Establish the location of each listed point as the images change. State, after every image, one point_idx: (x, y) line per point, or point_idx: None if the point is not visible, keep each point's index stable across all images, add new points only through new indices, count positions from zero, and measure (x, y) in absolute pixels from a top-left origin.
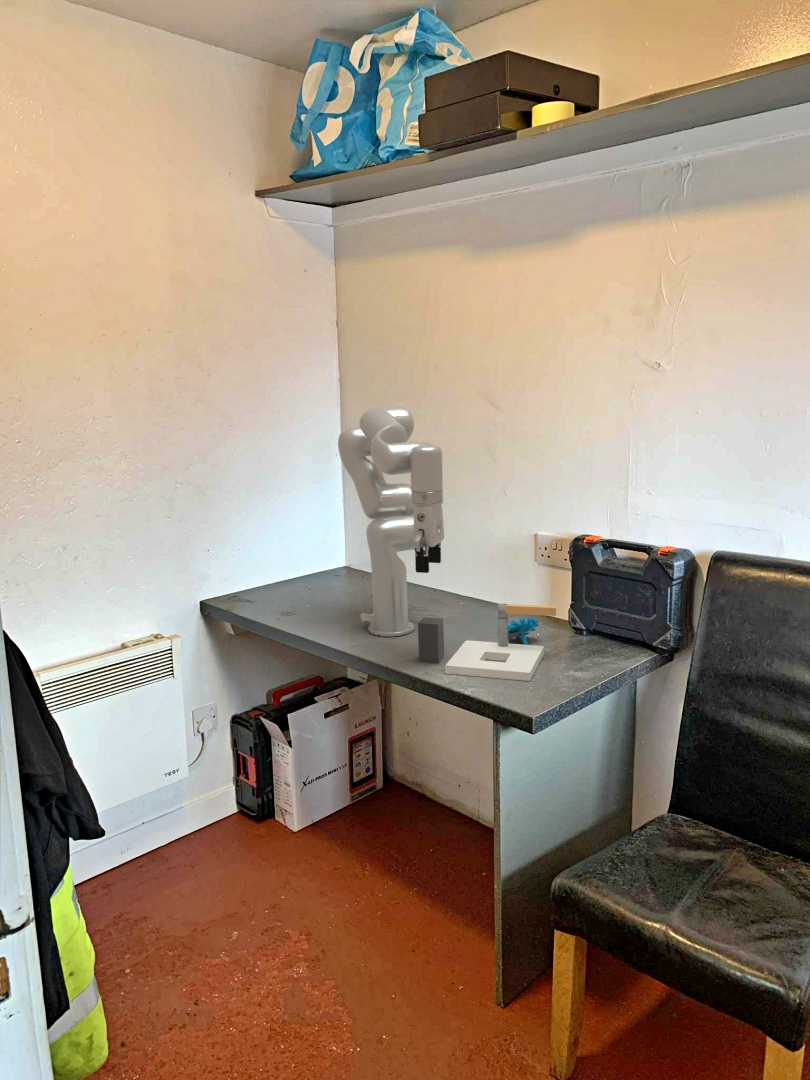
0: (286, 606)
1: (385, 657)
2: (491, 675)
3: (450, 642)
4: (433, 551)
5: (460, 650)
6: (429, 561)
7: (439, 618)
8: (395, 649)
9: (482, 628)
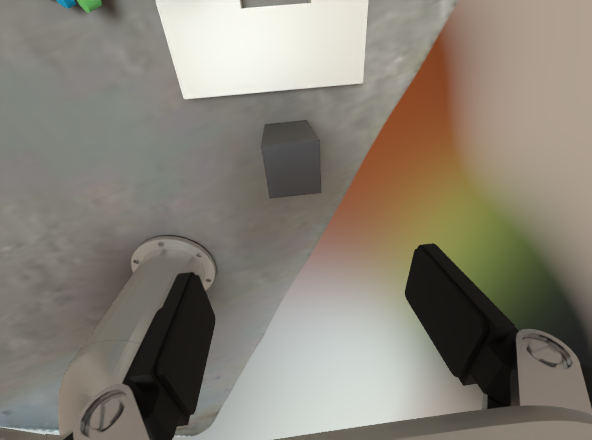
0: None
1: (303, 220)
2: None
3: (176, 146)
4: (188, 365)
5: (258, 85)
6: (213, 318)
7: (265, 156)
8: (261, 222)
9: (35, 109)
